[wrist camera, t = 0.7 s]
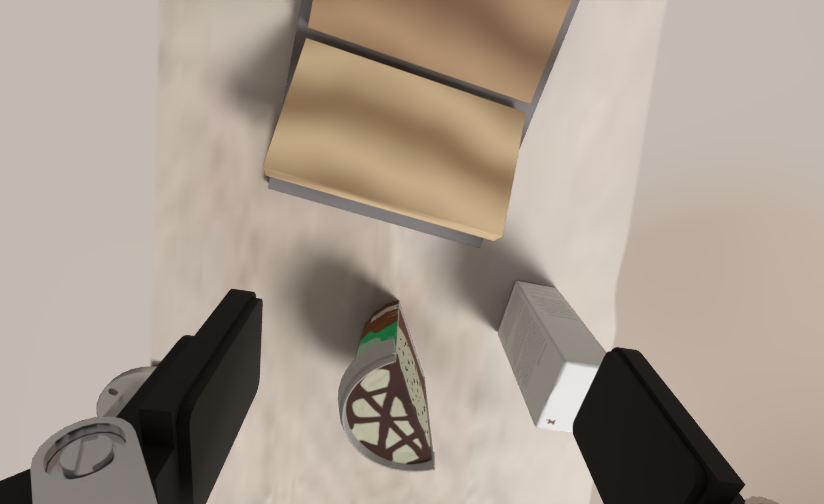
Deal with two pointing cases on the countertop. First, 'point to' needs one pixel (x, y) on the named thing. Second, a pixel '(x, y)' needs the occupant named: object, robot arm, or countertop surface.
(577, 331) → the skincare box
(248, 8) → the countertop surface
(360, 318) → the countertop surface
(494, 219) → the oak plank
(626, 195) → the countertop surface
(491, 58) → the floor board
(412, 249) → the countertop surface
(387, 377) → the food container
